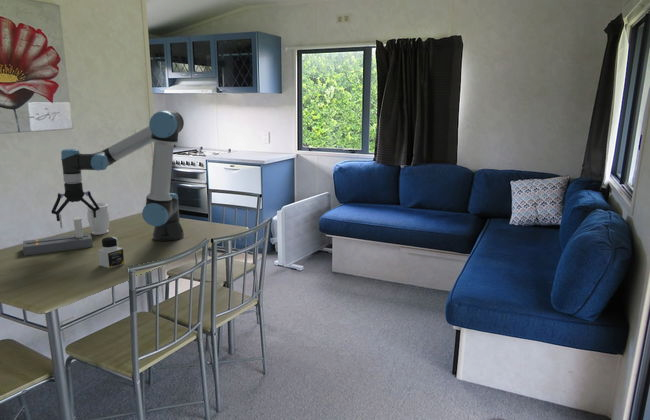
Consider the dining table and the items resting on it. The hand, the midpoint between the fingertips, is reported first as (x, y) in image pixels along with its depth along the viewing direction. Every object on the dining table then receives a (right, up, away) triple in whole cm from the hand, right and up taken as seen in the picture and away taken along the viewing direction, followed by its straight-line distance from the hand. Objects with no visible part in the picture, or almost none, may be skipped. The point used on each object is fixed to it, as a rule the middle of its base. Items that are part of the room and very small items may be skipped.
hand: (77, 225), depth 225 cm
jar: (0, -5, +23) cm, 24 cm away
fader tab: (0, -7, +2) cm, 7 cm away
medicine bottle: (+27, -16, -24) cm, 39 cm away
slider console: (-8, -10, -2) cm, 13 cm away
